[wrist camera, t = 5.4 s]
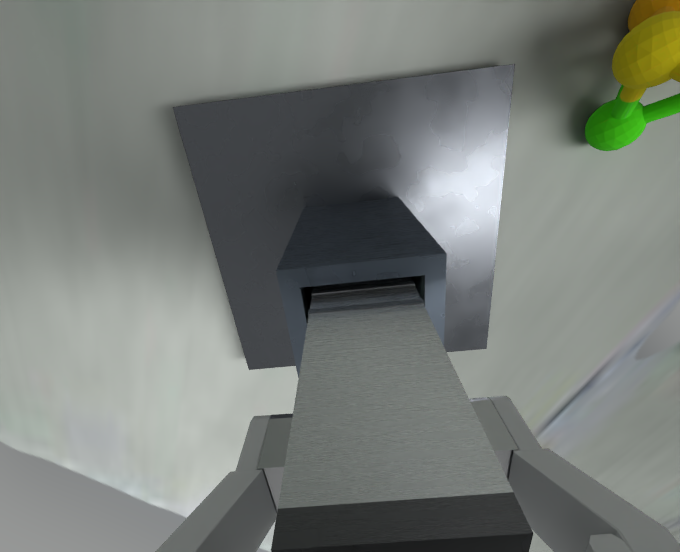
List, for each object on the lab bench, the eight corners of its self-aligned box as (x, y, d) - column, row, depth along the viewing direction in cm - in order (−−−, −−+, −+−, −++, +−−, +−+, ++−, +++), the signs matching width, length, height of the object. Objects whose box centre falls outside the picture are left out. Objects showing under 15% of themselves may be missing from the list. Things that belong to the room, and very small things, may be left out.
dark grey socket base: (183, 108, 21) (7, 86, 10) (502, 68, 20) (705, -5, 9) (253, 358, 29) (201, 498, 18) (479, 337, 28) (568, 471, 17)
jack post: (321, 232, 20) (267, 548, 5) (386, 225, 20) (537, 530, 5) (329, 290, 22) (307, 657, 7) (389, 284, 22) (507, 646, 7)
